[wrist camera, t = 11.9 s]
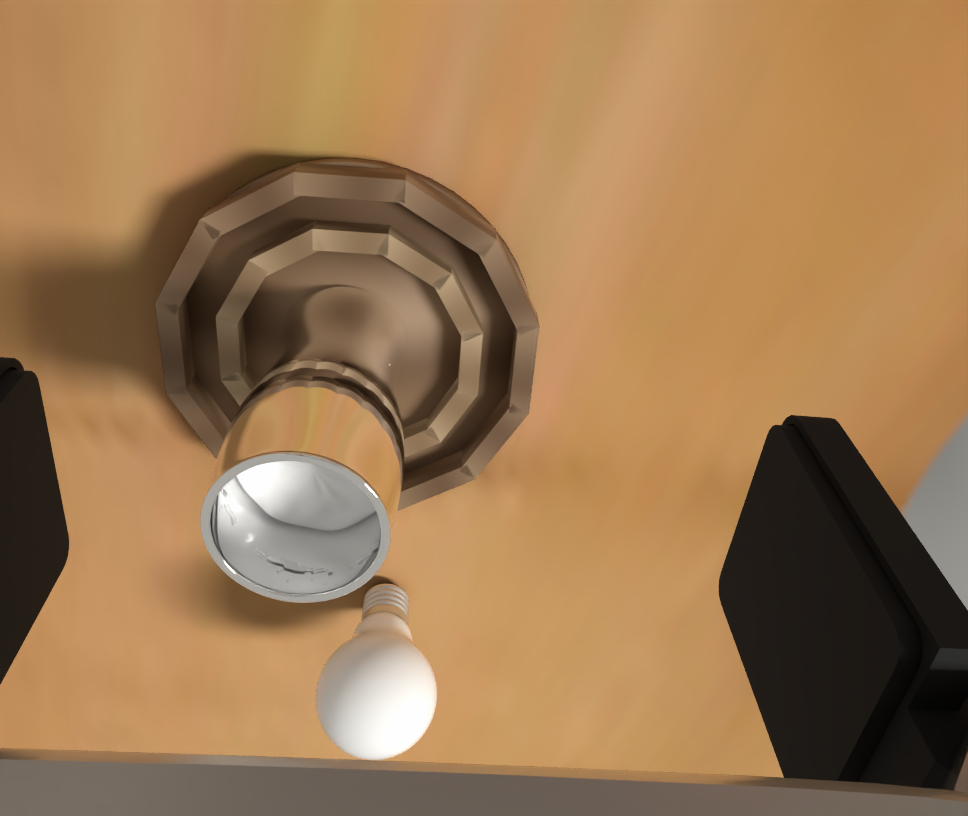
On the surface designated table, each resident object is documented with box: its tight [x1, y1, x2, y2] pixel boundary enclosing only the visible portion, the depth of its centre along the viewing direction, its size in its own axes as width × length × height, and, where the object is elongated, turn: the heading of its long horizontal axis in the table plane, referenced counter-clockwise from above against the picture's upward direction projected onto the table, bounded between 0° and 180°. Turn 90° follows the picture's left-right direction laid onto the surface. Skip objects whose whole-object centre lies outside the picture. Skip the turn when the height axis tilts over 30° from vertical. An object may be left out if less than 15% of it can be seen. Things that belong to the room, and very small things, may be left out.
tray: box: [155, 158, 539, 511], centre depth 43 cm, size 18×18×3 cm
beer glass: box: [200, 286, 407, 603], centre depth 37 cm, size 7×7×15 cm
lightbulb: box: [315, 584, 437, 760], centre depth 48 cm, size 6×6×11 cm
